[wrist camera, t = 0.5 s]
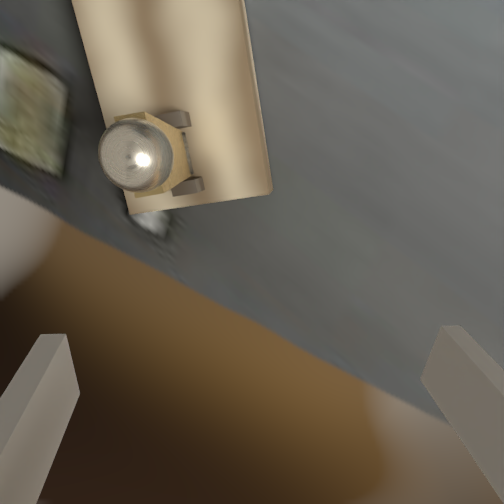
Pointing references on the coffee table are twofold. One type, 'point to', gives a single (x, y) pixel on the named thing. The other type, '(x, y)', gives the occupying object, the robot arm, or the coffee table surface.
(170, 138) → the lever brass
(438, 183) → the coffee table surface
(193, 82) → the console
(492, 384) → the robot arm
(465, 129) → the coffee table surface
